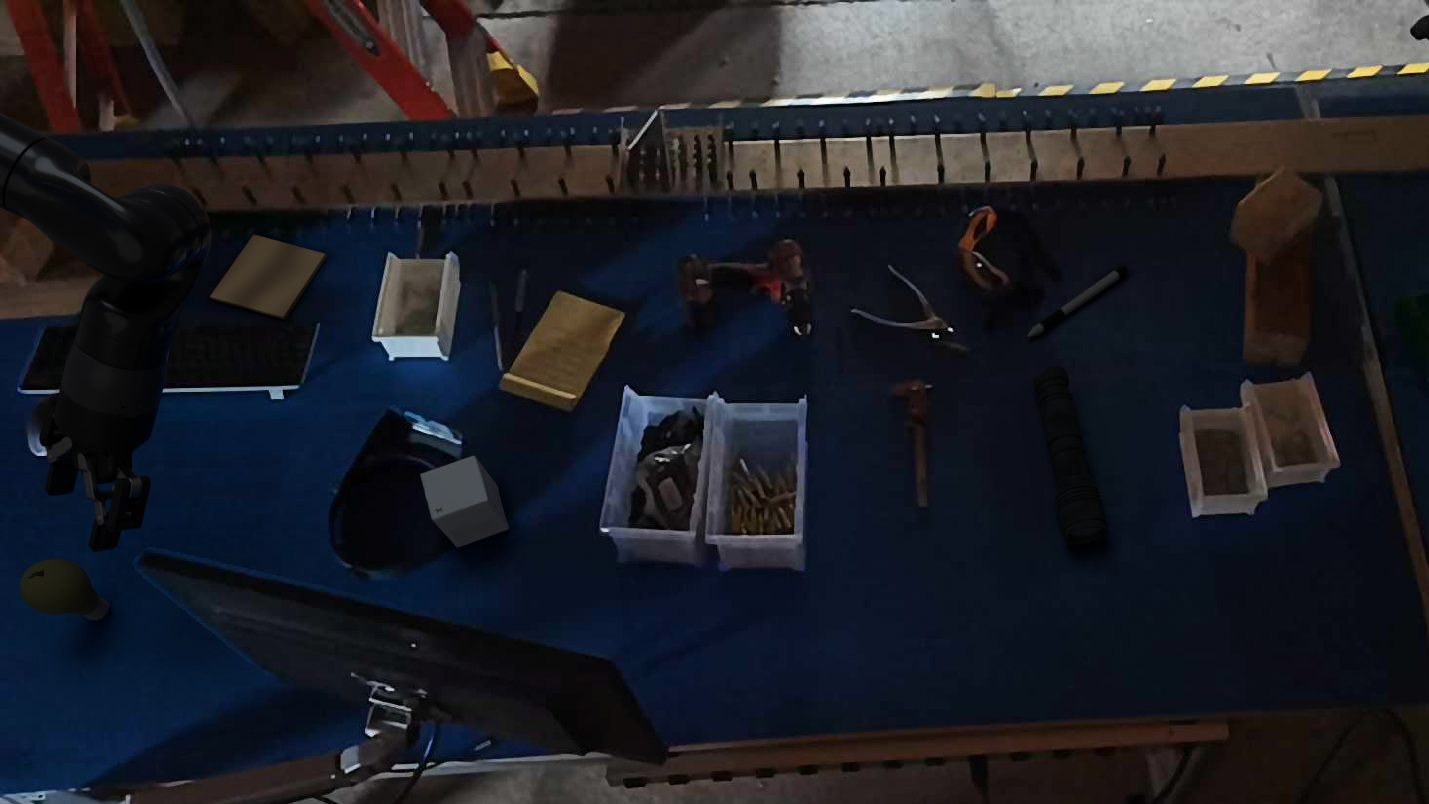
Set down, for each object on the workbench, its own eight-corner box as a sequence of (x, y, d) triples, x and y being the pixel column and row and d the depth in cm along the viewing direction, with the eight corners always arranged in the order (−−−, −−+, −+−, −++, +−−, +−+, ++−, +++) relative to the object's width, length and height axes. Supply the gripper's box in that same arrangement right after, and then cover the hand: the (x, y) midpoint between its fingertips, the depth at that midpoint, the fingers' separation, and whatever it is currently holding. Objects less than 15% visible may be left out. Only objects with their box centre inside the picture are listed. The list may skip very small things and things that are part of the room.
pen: (1127, 275, 141) (1129, 268, 140) (1029, 344, 136) (1030, 338, 135) (1120, 268, 141) (1122, 262, 140) (1021, 337, 137) (1022, 331, 136)
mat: (212, 299, 137) (209, 296, 137) (256, 237, 142) (253, 234, 141) (285, 320, 136) (282, 317, 136) (327, 256, 140) (325, 253, 140)
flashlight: (1061, 548, 125) (1067, 529, 121) (1027, 390, 134) (1031, 367, 129) (1105, 542, 125) (1112, 523, 121) (1068, 385, 134) (1073, 362, 130)
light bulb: (113, 577, 122) (49, 539, 113) (139, 612, 120) (75, 576, 111) (64, 611, 120) (-5, 575, 111) (89, 646, 119) (21, 613, 110)
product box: (511, 530, 125) (488, 501, 118) (456, 549, 124) (430, 521, 117) (498, 484, 127) (475, 453, 121) (444, 503, 126) (418, 473, 120)
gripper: (27, 343, 103) (-1, 480, 110) (106, 439, 99) (72, 575, 106) (118, 341, 109) (86, 471, 116) (196, 431, 105) (158, 560, 112)
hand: (80, 520), depth 111 cm, fingers open, 8 cm apart
